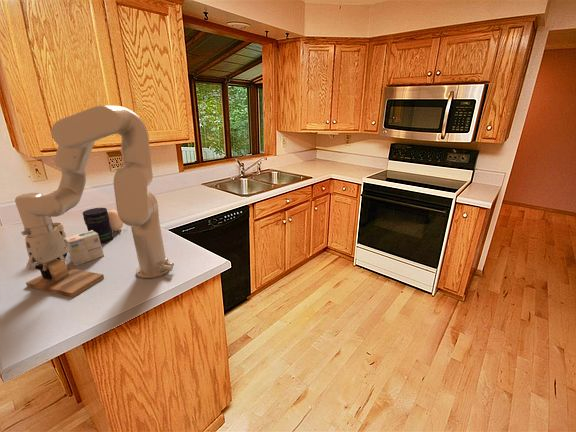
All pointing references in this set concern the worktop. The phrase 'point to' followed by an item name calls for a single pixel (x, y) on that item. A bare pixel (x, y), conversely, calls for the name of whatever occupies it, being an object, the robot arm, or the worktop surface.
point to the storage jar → (99, 223)
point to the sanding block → (57, 269)
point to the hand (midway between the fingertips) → (55, 274)
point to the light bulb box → (84, 247)
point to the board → (67, 282)
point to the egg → (115, 220)
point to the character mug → (60, 229)
